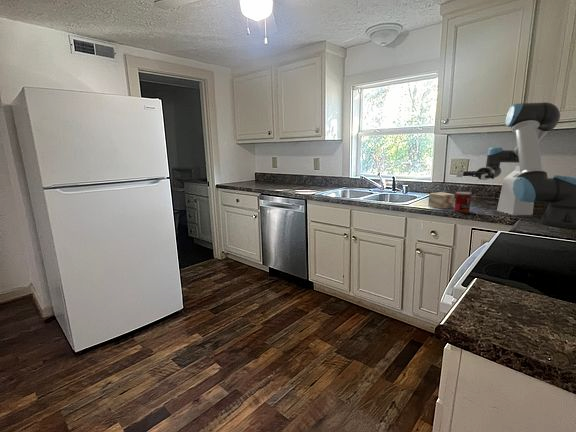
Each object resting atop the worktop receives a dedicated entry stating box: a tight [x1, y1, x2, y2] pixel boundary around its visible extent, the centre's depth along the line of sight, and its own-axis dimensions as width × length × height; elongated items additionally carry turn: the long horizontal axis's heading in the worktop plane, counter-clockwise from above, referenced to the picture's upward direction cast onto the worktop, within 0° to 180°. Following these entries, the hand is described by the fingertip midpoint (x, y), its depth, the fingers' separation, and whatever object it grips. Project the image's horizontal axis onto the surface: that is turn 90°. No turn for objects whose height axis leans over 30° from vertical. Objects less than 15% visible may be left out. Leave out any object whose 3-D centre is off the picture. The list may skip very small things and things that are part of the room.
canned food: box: [453, 191, 472, 214], centre depth 181 cm, size 8×8×11 cm
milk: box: [496, 165, 535, 216], centre depth 175 cm, size 12×12×26 cm
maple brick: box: [428, 191, 456, 209], centre depth 196 cm, size 10×10×8 cm
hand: (469, 176), depth 184 cm, fingers open, 13 cm apart
